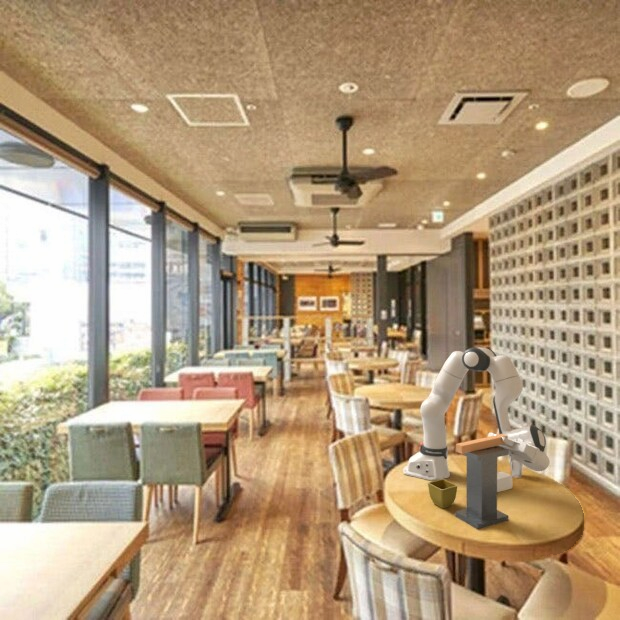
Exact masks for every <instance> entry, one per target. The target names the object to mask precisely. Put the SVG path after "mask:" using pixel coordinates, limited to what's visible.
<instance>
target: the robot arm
mask: <svg viewBox="0 0 620 620" xmlns="http://www.w3.org/2000/svg"><path fill="white" fill-rule="evenodd" d="M469 370H470V371H471V372H472V371H473V372H485V371H486V372H488V373H489V374H490V376H491V379H492V380H493V383H494V386H495V395H494V397H493V398H492V399H493V400H492V402H493V408H494V413H495V418H496V423H497V428H498V434H495V433H493V432H488V434H487V436H486V437H490V436H494V435H499V434H504V435H507V436H508V439H507V438H505V437H502V438H501V441H502V442H504V443H506V444H502V445H498V446H500V447H503V448H506V449H508V450H509V456H510V457H511V458H512V459H514V460H516V461H517V462H519V463H522V464H523V467H524V466H525V467H526V468H527V469H529V470H532V471H535V472H543V471H545V470H546V469H548V468H549V466H550V458H549V456H548V455H547V453H546V451H545V450H546V444H547V442H546V436H545V434H544V432H543V431H542V430H541V429H540V428H539V427H538V426H535V425H534V424H532V425H527V426H523V427H519V428H516V429H512V427H511V424H510V419H509V418H510V417H509V414H508V410H509V407H510V406H511V404H512V403H514V401H516V400H517V399H518V398H519V397H520V396H521V394H522V392H523V388H524V387H523V383H522V380H521V377H520V375H519V372H518V370H517V368H516V366H515V364H514V363H513V361H512V360H511V358H510V357H509V356H508V355H503V354H501V355H496V353H495V351H493V350H492V349H491V348H488V347H482V346H480V347H479V346H478V347H469V348H468V349H466V350H465V351H459V350H455V351H452V352H451V353H450V355H449V356H448V358H447V359H446V361H445V362H444V363H443V366H442V367H441V369H440V371H439V372H438V375H437V376H436V379H435V381H434V384H433V386H432V389H431V391H430V393H429V395H428V396H427V397H426V398H425V399H424V400H423V401H422V402H421V405H420V409H419V411H420V416H421V423H422V430H423V439H422V441H423V442H420V444H419V449H418V450H419V451H417V453H415V454H413V455H412V456H410V457H409V458H408V459H409V460H408V462H407V465H405V466H404V467H403V469H402V473H403V475H406V476H411V477H414V478H418V479H423V480H427V481H430V482H433V481H437V480H440V479H444V480H446V479H448V478H449V477H451V473H450V470H449V465H448V456H449V453H448V452H449V450H448V444H447V439H448V438H447V433H448V432H447V427H446V422H445V414H446V413H448V410H449V409H450V406H451V404H452V402H453V400H454V398H455V395H456V393H457V391H458V390H459V388H460V386H461V384H462V382H463V381H464V378H465V377H466V374H467V373H468V372H469ZM509 456H508V457H509Z"/></svg>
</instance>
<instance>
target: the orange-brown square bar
mask: <svg viewBox="0 0 620 620" xmlns="http://www.w3.org/2000/svg"><path fill="white" fill-rule="evenodd" d="M502 437H505V438H507V439H508V436H507V435H504V434H499V433H498V434H497V435H494V436H490V437H487V436H486V437H481V438H476V439H471V440H466V441H463V442H458V443H456V444H455V447H456V452H455V453H457V452H458V453H457V454H460V453H461V454H460V455H462V454H464V453H468V452H472V451H476V450H481V449H485V448H489V447H493V446H498V445H502V444H506V443H504V442H502V441H501V438H502Z"/></svg>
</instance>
